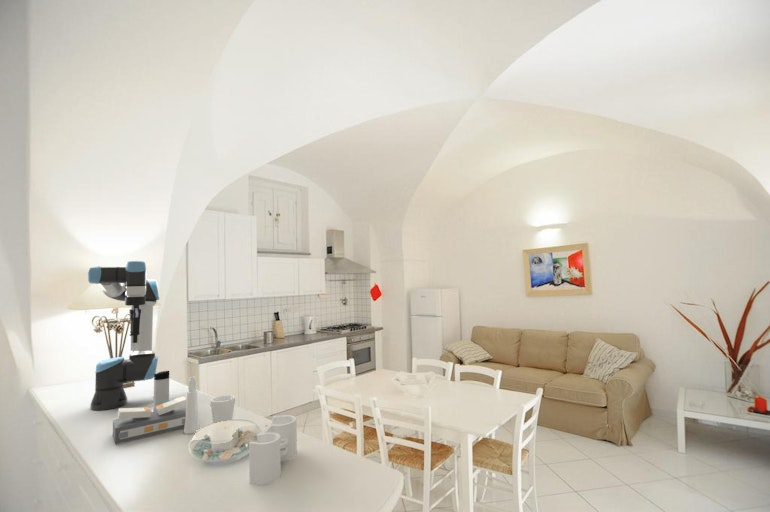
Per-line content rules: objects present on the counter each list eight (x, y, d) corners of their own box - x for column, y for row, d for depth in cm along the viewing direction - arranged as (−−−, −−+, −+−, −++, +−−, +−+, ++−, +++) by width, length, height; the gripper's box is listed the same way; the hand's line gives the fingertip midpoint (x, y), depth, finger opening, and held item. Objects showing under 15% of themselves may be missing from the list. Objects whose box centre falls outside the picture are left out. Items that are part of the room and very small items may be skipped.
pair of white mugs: (277, 485, 114) (277, 444, 114) (245, 485, 114) (245, 444, 115) (300, 448, 138) (300, 414, 139) (274, 448, 139) (274, 414, 140)
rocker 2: (156, 411, 162) (155, 405, 162) (184, 401, 169) (183, 395, 169) (159, 415, 158) (157, 409, 157) (187, 404, 164) (186, 398, 164)
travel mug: (162, 417, 174) (163, 372, 175) (150, 416, 175) (150, 372, 177) (172, 412, 180) (173, 369, 181) (160, 411, 181) (161, 369, 183)
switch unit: (112, 434, 155) (113, 416, 155) (185, 418, 172) (186, 402, 172) (115, 444, 145) (115, 425, 145) (192, 426, 162) (192, 409, 162)
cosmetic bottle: (203, 429, 158) (203, 376, 159) (189, 435, 153) (190, 379, 154) (193, 427, 161) (194, 374, 162) (180, 432, 156) (180, 378, 157)
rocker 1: (117, 414, 153) (118, 407, 154) (148, 413, 160) (149, 406, 161) (118, 418, 149) (120, 411, 149) (150, 417, 156) (151, 410, 156)
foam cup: (210, 436, 151) (211, 403, 151) (209, 428, 159) (209, 397, 160) (236, 431, 155) (236, 399, 156) (233, 424, 163) (233, 393, 164)
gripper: (123, 296, 170) (122, 349, 169) (126, 296, 160) (125, 353, 159) (143, 295, 175) (142, 347, 173) (147, 296, 165) (146, 351, 163)
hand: (134, 350), depth 166 cm, fingers closed
